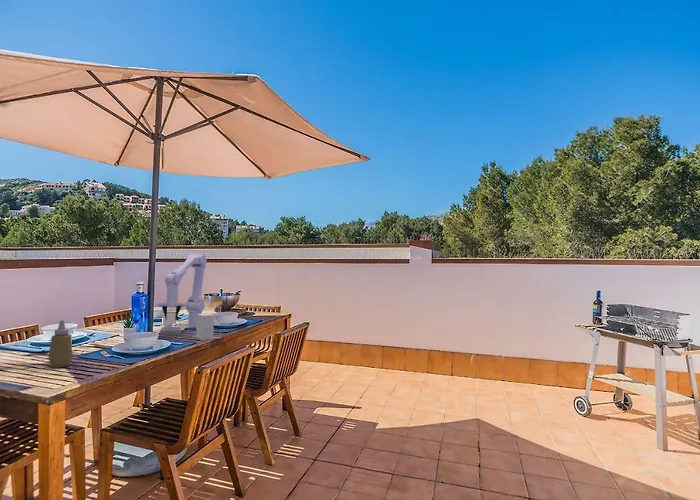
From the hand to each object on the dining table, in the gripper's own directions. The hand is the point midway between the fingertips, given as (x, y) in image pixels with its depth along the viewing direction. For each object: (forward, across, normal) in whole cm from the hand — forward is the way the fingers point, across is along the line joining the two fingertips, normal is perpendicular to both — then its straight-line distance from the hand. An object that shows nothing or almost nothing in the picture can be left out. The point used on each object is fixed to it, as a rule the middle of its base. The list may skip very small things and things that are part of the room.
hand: (171, 319), depth 251 cm
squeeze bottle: (+8, -36, -65) cm, 75 cm away
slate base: (+8, 0, 0) cm, 8 cm away
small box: (+8, +18, -17) cm, 26 cm away
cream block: (+2, 0, 0) cm, 2 cm away
